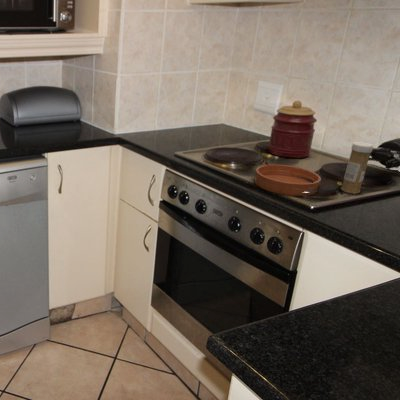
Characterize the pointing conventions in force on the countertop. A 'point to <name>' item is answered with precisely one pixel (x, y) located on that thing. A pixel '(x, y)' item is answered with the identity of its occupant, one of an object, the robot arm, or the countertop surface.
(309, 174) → the terracotta round dish
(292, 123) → the kitchen canister
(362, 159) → the sprinkles bottle
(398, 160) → the robot arm
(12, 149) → the countertop surface
